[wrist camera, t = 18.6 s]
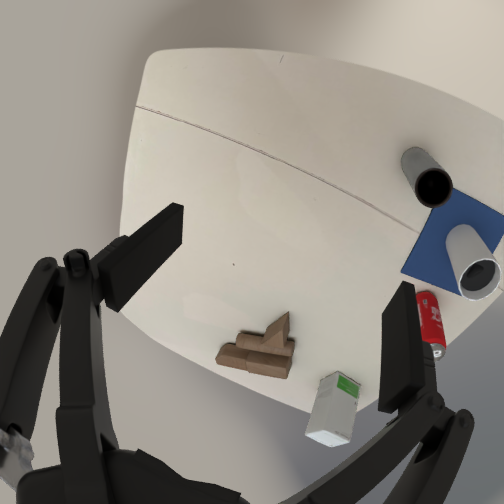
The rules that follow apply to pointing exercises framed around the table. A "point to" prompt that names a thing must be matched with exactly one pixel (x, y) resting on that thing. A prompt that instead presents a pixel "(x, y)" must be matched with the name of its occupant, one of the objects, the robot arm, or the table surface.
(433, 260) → the cloth mat
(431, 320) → the beverage can
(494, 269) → the white cup
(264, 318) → the table surface
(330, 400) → the cosmetic box
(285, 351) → the wooden block set
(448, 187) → the gray tube
